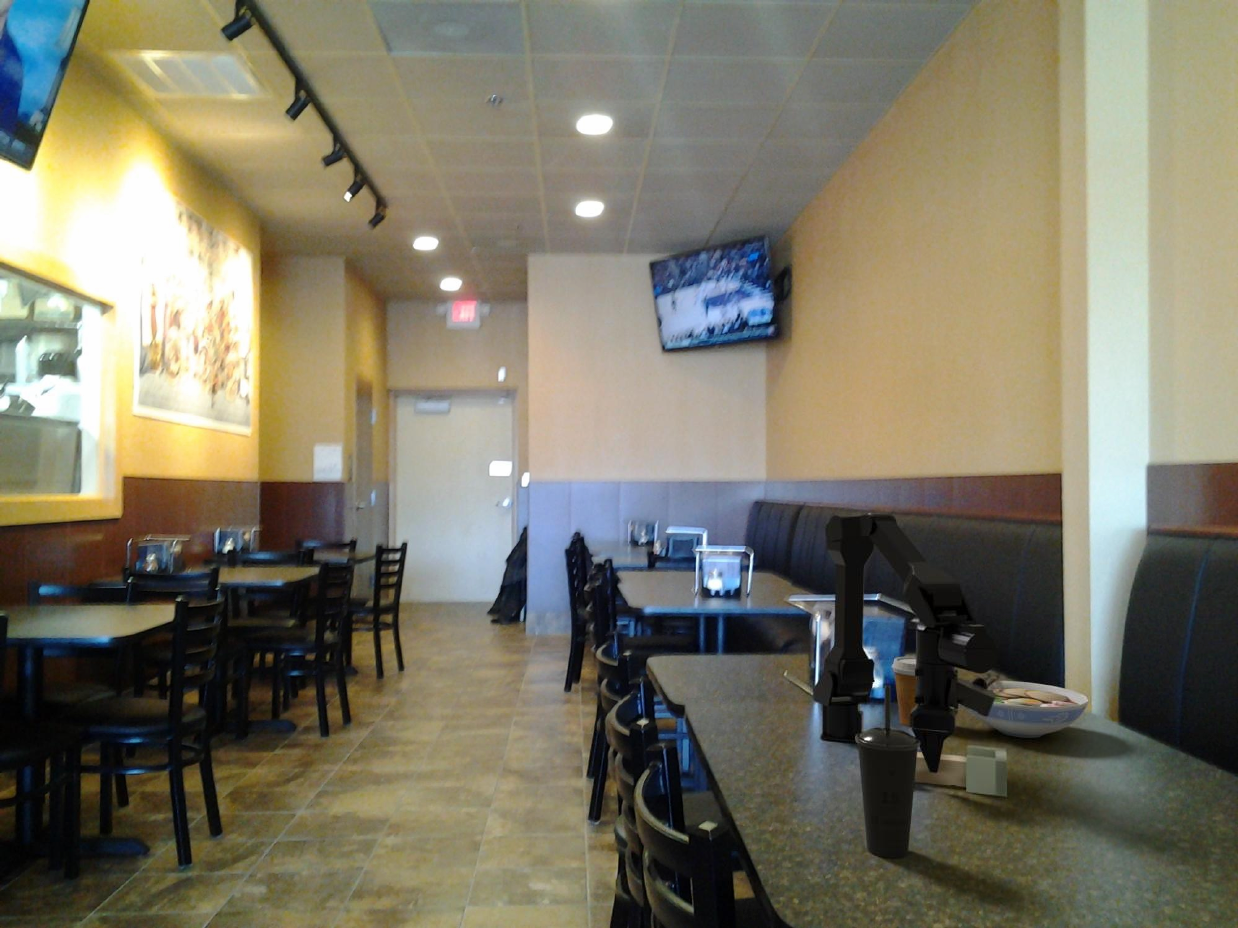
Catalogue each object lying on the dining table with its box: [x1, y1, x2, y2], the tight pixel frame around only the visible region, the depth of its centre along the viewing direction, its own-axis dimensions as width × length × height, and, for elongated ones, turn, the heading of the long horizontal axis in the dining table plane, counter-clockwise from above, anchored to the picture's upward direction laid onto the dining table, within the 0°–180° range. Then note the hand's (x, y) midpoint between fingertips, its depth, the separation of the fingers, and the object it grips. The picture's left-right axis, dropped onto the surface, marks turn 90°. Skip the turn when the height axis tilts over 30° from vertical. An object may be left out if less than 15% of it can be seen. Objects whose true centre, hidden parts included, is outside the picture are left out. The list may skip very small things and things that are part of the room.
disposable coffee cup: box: [891, 656, 917, 728], centre depth 178 cm, size 10×10×12 cm
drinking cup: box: [855, 685, 920, 859], centre depth 115 cm, size 8×8×20 cm
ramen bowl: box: [964, 672, 1090, 739], centre depth 173 cm, size 25×23×8 cm
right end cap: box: [965, 744, 1008, 798], centre depth 140 cm, size 6×8×5 cm
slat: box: [915, 751, 967, 788], centre depth 143 cm, size 15×3×4 cm, turn 72°
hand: (935, 764), depth 143 cm, fingers open, 9 cm apart
